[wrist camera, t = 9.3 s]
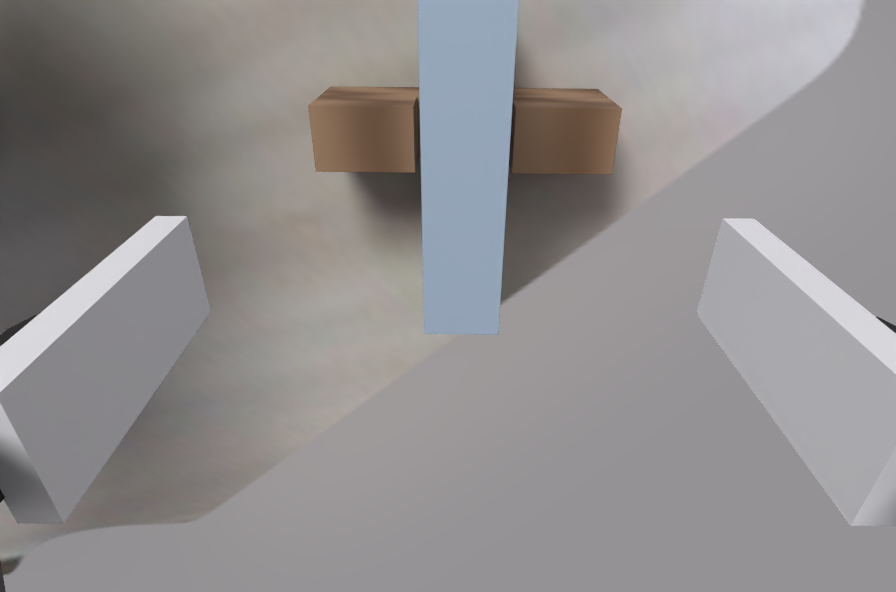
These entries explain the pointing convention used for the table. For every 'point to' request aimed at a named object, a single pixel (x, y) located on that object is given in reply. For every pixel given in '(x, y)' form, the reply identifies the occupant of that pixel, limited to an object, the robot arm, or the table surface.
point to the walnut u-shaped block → (398, 130)
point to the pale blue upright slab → (464, 158)
